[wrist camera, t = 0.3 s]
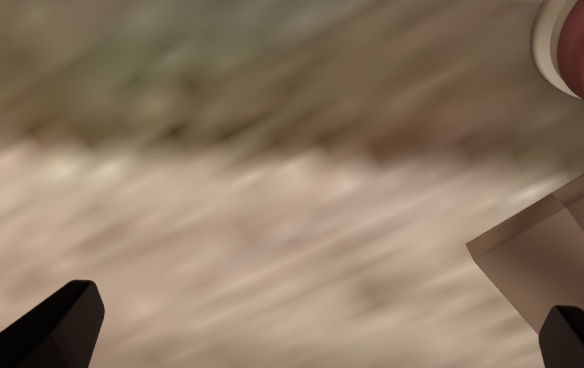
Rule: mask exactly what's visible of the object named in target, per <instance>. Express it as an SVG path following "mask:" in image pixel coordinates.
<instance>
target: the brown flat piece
mask: <svg viewBox="0 0 584 368" xmlns="http://www.w3.org/2000/svg"><path fill="white" fill-rule="evenodd" d="M466 246H467V248H468V250H469V252H470V254H471V256H472V258H473V260H474V262H475V263H476V264H477V265H478V266H479V267H480V269H481V270H482V271H483V272H484V273H485V274H486V275H487V277H488V278H489V279H490V280H491V281H492V282H493V283H494V285H495V286H496V287H497V288H498V289H499V290H500V292H501V293H502V294H503V295H504V296H505V297H506V298H507V300H508V301H509V302H510V303H511V304H512V305H513V306H514V308H515V309H516V310H517V311H518V312H519V313H520V314H521V316H522V317H523V318H524V319H525V320H526V321H527V322H528V324H529V325H530V326H531V327H532V328H533V329H534V330H535V332H536V333H537V334H538V335H539V332H540V329H541V327H542V325H543V323H544V321H545V319H546V317H547V315H548V313H549V311H550V309H551V307H553V306H554V305H571V306H577V307H579V308H581V309H582V310H583V311H584V174H583V175H582V176H580V177H578V178H576V179H575V180H573V181H571V182H570V183H568V184H566V185H565V186H563V187H561V188H560V189H558V190H556V191H555V192H553V193H551V194H549V195H548V196H546V197H544V198H543V199H541V200H539V201H538V202H536V203H534V204H533V205H531V206H529V207H528V208H526V209H524V210H523V211H521V212H519V213H517V214H516V215H514V216H512V217H511V218H509V219H507V220H506V221H504V222H502V223H501V224H499V225H497V226H496V227H494V228H492V229H491V230H489V231H487V232H485V233H484V234H482V235H480V236H479V237H477V238H475V239H474V240H472V241H470V242H469V243H467V244H466Z"/></svg>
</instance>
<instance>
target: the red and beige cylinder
mask: <svg viewBox="0 0 584 368" xmlns="http://www.w3.org/2000/svg"><path fill="white" fill-rule="evenodd" d="M530 45H531V54H532V58H533V61H534V64H535V66H536V68H537V70H538V71H539V73H540V74H541V75H542V77H543V78H544V79H546V80H547V81H548V82H549V83H551V84H552V85H554V86H555V87H557V88H559V89H560V90H562V91H564V92H566V93H567V94H570V95H572V96H574V97H578V98H581V99H583V100H584V0H544V1H543V3H542V4H541V6H540V8H539V10H538V12H537V14H536V17H535V20H534V23H533V27H532V31H531V39H530Z"/></svg>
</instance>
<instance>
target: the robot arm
mask: <svg viewBox="0 0 584 368" xmlns="http://www.w3.org/2000/svg"><path fill="white" fill-rule="evenodd" d="M104 314H105V309H104V304H103V302H102V299H101V296H100V294H99V291H98V289H97V286H96V284H95V283H94V282H93V281H91V280H72V281H70V282H68V283H67V284H66V285H64V286H63V287H61V288H60V289H59V290H57V291H56V292H55V293H53V294H52V295H51V296H49V297H48V298H46V299H45V300H44V301H42V302H41V303H40V304H38V305H37V306H36V307H34V308H33V309H31V310H30V311H29V312H27V313H26V314H25V315H23V316H22V317H21V318H19V319H18V320H16V321H15V322H14V323H12V324H11V325H10V326H8V327H7V328H6V329H4V330H3V331H1V332H0V368H88V366H89V363H90V360H91V357H92V354H93V351H94V347H95V344H96V341H97V338H98V335H99V332H100V329H101V325H102V322H103V319H104ZM539 345H540V349H541V353H542V357H543V361H544V365H545V368H584V311H583V310H582V309H581V308H579V307H577V306H571V305H554V306H553V307H551V309H550V311H549V313H548V315H547V317H546V319H545V321H544V323H543V325H542V327H541V329H540V332H539Z"/></svg>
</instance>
